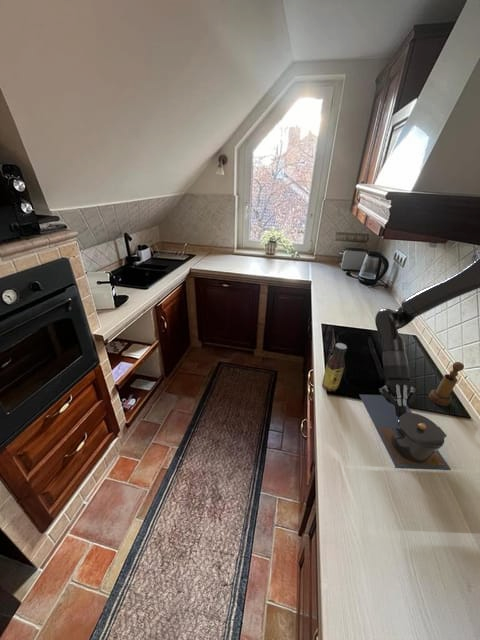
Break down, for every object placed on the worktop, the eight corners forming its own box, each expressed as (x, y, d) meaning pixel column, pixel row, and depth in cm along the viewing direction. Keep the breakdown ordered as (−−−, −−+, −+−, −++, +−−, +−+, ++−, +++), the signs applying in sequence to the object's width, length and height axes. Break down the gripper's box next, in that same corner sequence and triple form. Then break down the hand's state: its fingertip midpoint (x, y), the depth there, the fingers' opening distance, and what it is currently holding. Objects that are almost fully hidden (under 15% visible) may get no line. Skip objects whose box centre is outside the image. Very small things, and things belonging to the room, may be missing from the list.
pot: (421, 429, 85) (433, 407, 79) (448, 464, 75) (464, 441, 69) (377, 430, 84) (387, 408, 79) (398, 466, 74) (411, 443, 68)
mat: (400, 396, 98) (400, 395, 97) (450, 470, 73) (451, 469, 73) (358, 395, 98) (358, 394, 98) (395, 468, 74) (395, 467, 73)
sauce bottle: (331, 395, 97) (343, 354, 88) (318, 385, 102) (328, 345, 92) (341, 387, 101) (353, 347, 91) (327, 378, 105) (338, 339, 95)
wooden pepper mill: (431, 390, 101) (451, 354, 92) (451, 400, 96) (474, 364, 87) (425, 398, 97) (446, 362, 88) (445, 409, 93) (469, 372, 84)
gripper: (382, 363, 84) (388, 418, 80) (421, 364, 84) (430, 420, 80) (370, 365, 92) (375, 416, 87) (407, 366, 92) (414, 417, 87)
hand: (401, 418), depth 84 cm, fingers closed
